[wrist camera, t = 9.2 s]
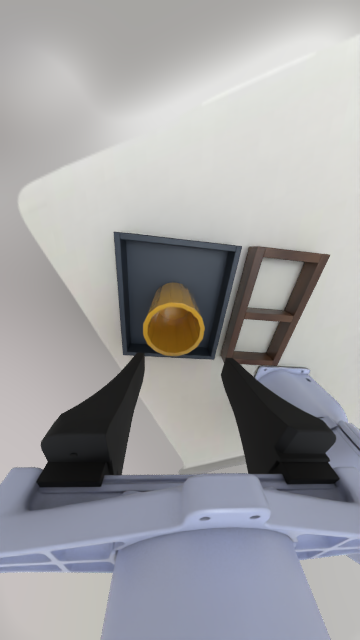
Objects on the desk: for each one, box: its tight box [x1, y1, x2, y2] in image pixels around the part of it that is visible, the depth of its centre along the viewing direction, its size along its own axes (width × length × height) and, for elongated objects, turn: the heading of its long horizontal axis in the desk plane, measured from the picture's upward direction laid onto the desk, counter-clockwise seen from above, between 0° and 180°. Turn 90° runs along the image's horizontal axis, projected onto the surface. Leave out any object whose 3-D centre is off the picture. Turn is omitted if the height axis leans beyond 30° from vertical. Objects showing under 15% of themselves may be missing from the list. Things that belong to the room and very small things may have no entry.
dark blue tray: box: [114, 232, 242, 360], centre depth 20 cm, size 13×15×3 cm
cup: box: [143, 282, 205, 356], centre depth 17 cm, size 5×5×8 cm
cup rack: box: [221, 246, 330, 366], centre depth 21 cm, size 9×17×2 cm, turn 175°
